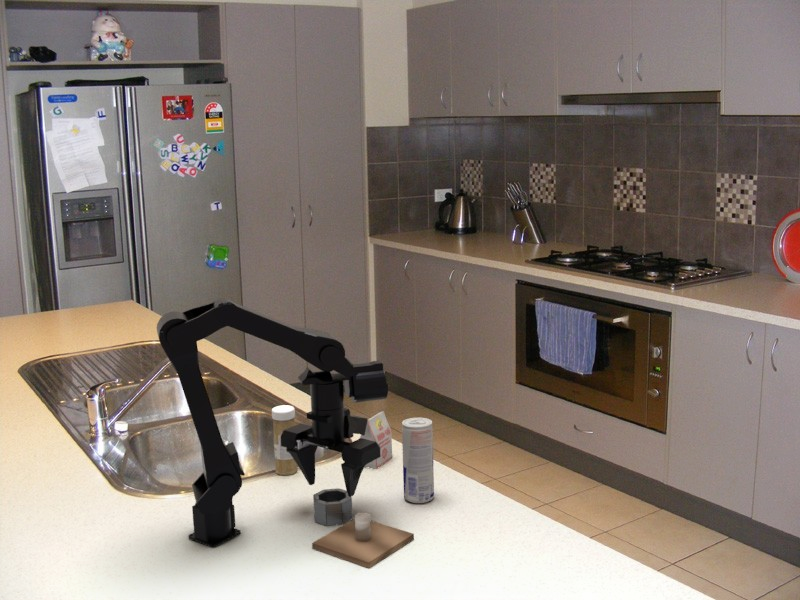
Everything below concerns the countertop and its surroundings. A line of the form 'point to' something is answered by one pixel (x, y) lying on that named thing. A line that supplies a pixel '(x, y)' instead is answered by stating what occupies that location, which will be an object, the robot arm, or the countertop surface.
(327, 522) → the ring
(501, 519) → the countertop surface
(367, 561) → the brown peg base
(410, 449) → the beverage can
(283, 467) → the sprinkles bottle
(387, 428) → the mini juice carton
